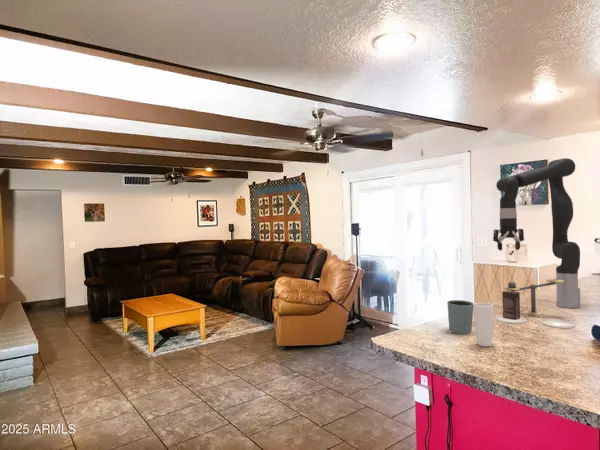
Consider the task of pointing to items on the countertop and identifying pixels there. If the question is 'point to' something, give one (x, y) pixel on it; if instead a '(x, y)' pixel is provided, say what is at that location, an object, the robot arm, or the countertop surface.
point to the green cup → (460, 316)
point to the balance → (532, 295)
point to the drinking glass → (484, 323)
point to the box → (511, 304)
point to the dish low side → (510, 320)
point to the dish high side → (558, 323)
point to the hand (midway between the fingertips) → (508, 250)
